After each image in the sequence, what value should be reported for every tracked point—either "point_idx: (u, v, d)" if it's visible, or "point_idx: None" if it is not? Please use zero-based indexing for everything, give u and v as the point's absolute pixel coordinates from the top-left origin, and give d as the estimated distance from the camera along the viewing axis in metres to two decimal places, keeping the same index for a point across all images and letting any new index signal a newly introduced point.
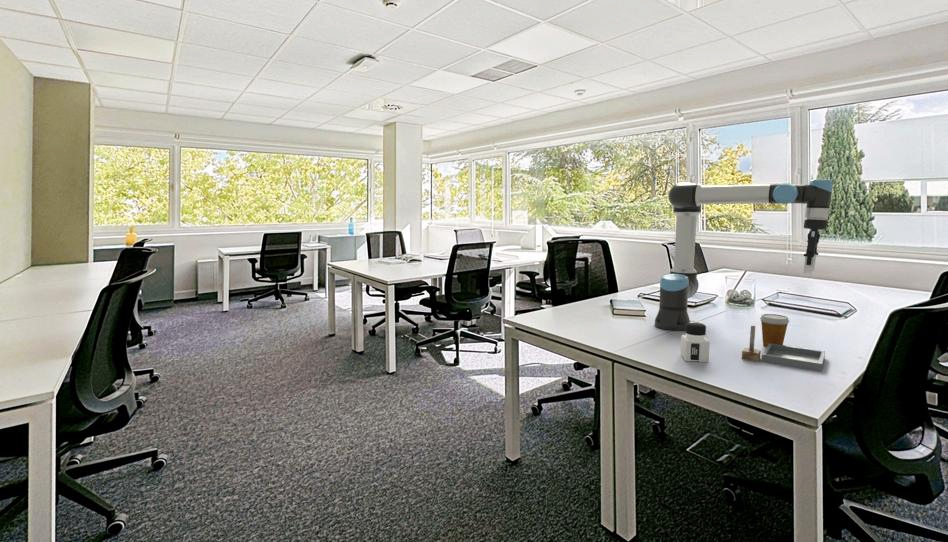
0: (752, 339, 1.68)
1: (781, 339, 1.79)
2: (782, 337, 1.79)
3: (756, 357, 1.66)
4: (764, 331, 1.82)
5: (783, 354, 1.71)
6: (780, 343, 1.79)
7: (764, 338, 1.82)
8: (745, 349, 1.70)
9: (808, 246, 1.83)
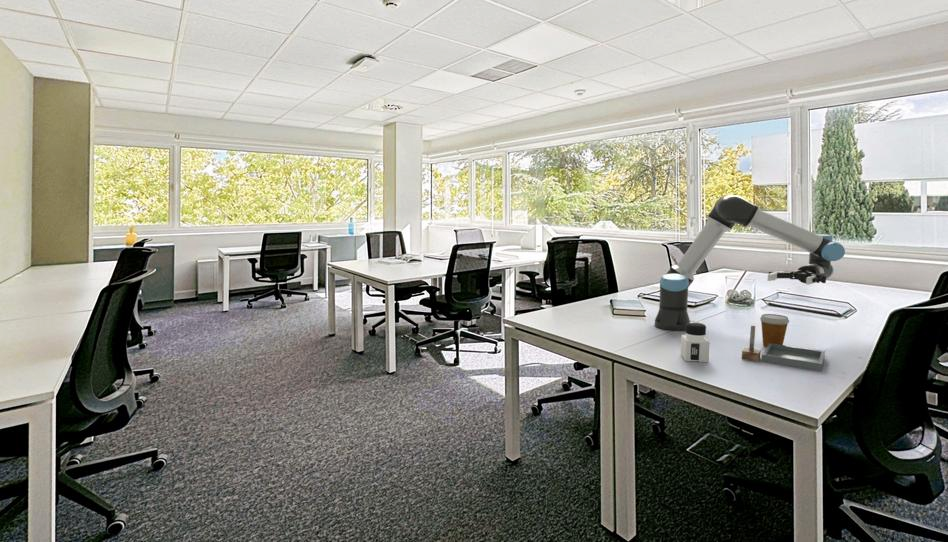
0: (752, 339, 1.68)
1: (781, 339, 1.79)
2: (782, 337, 1.79)
3: (756, 357, 1.66)
4: (764, 331, 1.82)
5: (783, 354, 1.71)
6: (780, 343, 1.79)
7: (764, 338, 1.82)
8: (745, 349, 1.70)
9: None
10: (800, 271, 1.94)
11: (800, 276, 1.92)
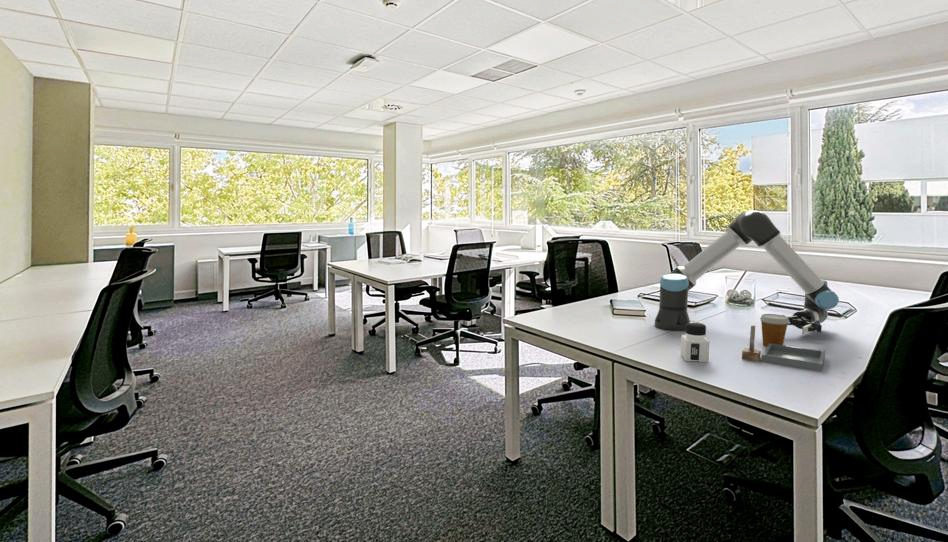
0: (752, 339, 1.68)
1: (781, 339, 1.79)
2: (782, 337, 1.79)
3: (756, 357, 1.66)
4: (764, 331, 1.82)
5: (783, 354, 1.71)
6: (780, 343, 1.79)
7: (764, 338, 1.82)
8: (745, 349, 1.70)
9: None
10: (796, 317, 1.95)
11: (796, 322, 1.94)
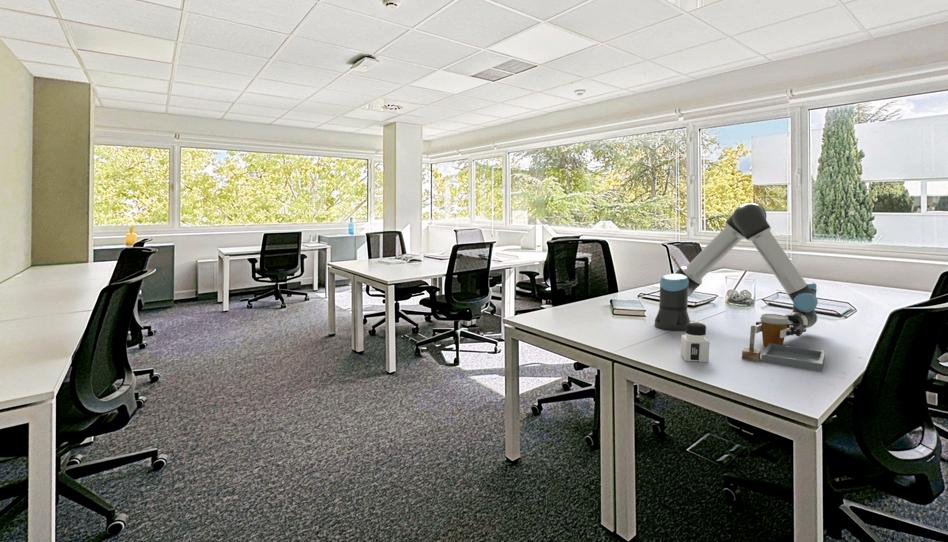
0: (752, 339, 1.68)
1: (781, 339, 1.79)
2: None
3: (756, 357, 1.66)
4: (764, 331, 1.82)
5: (783, 354, 1.71)
6: (780, 343, 1.79)
7: (764, 338, 1.82)
8: (745, 349, 1.70)
9: (801, 329, 1.80)
10: None
11: None
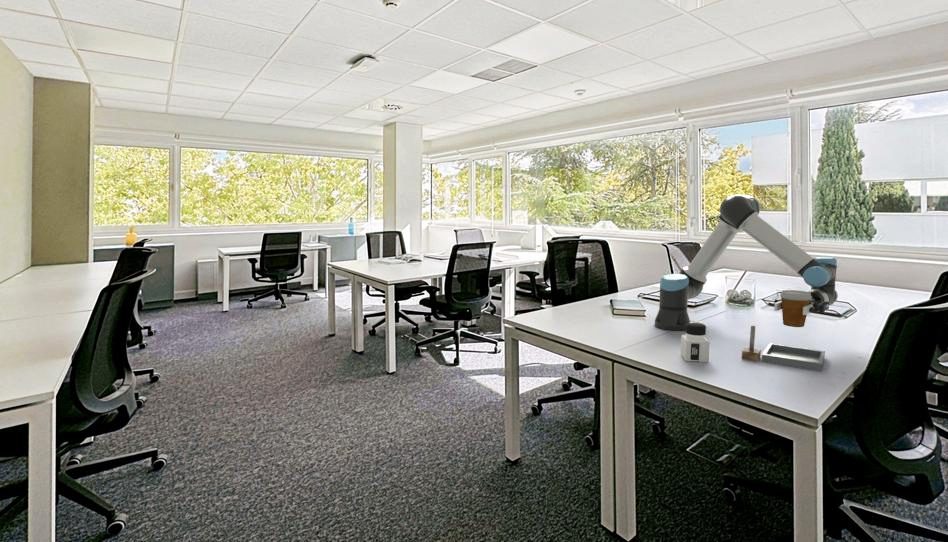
0: (752, 339, 1.68)
1: (803, 316, 1.66)
2: None
3: (756, 357, 1.66)
4: (785, 308, 1.68)
5: (783, 354, 1.71)
6: (802, 321, 1.66)
7: (785, 316, 1.69)
8: (745, 349, 1.70)
9: (825, 305, 1.66)
10: None
11: None
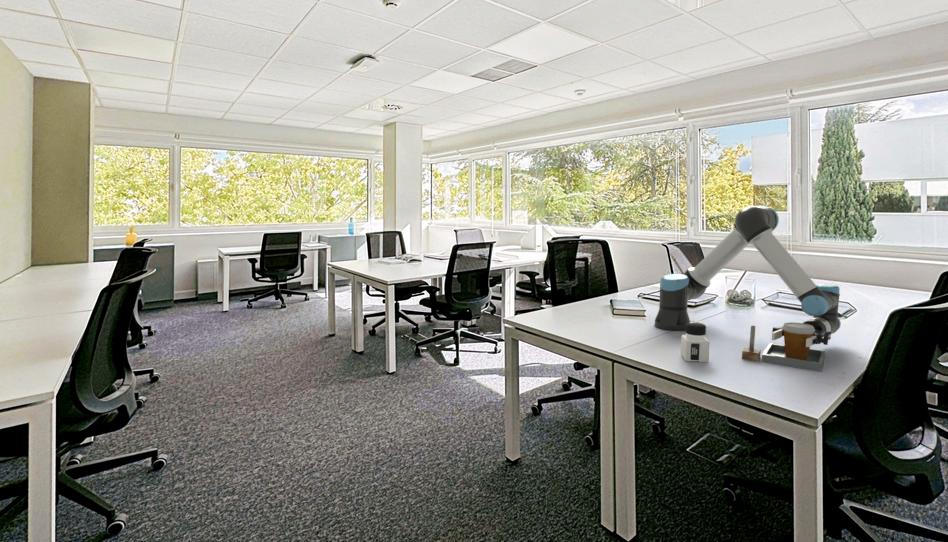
0: (752, 339, 1.68)
1: (806, 350, 1.63)
2: (807, 348, 1.63)
3: (756, 357, 1.66)
4: (787, 341, 1.65)
5: (783, 354, 1.71)
6: (805, 355, 1.63)
7: (787, 349, 1.66)
8: (745, 349, 1.70)
9: (828, 337, 1.63)
10: None
11: None
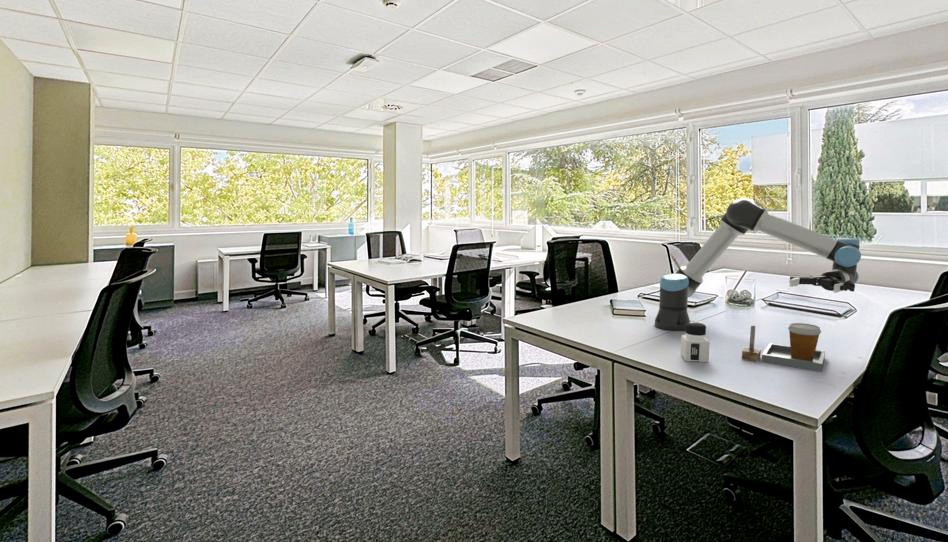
0: (752, 339, 1.68)
1: (813, 351, 1.62)
2: (814, 349, 1.62)
3: (756, 357, 1.66)
4: (794, 343, 1.64)
5: (783, 354, 1.71)
6: (812, 356, 1.62)
7: (794, 350, 1.65)
8: (745, 349, 1.70)
9: None
10: (824, 277, 1.78)
11: (825, 283, 1.76)
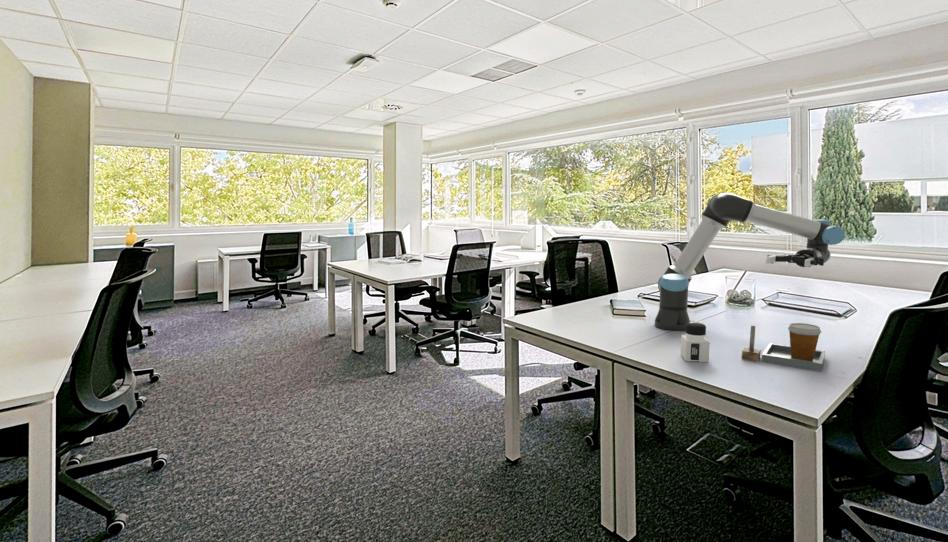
0: (752, 339, 1.68)
1: (813, 351, 1.62)
2: (814, 349, 1.62)
3: (756, 357, 1.66)
4: (794, 343, 1.64)
5: (783, 354, 1.71)
6: (812, 356, 1.62)
7: (794, 350, 1.65)
8: (745, 349, 1.70)
9: None
10: (798, 255, 1.96)
11: (798, 259, 1.94)
